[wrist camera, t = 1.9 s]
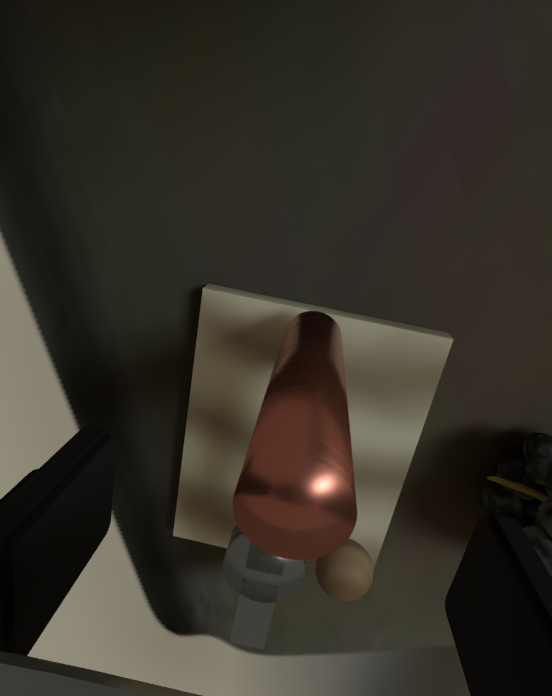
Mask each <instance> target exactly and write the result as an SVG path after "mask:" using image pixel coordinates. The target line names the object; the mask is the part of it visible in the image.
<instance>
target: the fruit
mask: <svg viewBox="0 0 552 696" xmlns="http://www.w3.org/2000/svg"><path fill="white" fill-rule="evenodd" d="M523 454H524V456H525V458H526V462H525V463H524V462H523V461H521V460H518V459H507V460H505V461H503V462H502V463H500V464H499V465H498V469H497V473H496V476H497V477H496V476H488V477H487V479H489V480H491V481H494V482H497V483H499V484H501V485H502V486H501V485H488V486H487V487H485V488H484V489H483V490H482V492H481V495H480V504H481V507H482V509H484V510H485V511H486V512H487V513H488V514H489V513H493V514H498V515H503V516H507V517H512V518H515V519H516V520H517V521H518V522H519V524H520V525H521V527H522V529H523V530H524V532H525V534H526V535H527V537H528V539H529V540H530V542H531V544H532V545H533V547H534V549H535V550H536V552H537V554H538V555H539V557H540V558H541V560H542V562H543V563H544V565H545V567H546V568H547V570H548V572H549V573H550V575H551V577H552V437H551V436H549V435H548V434H544V433H533V434H531V435H530V436H528V437H527V438H525V439H524V443H523Z"/></svg>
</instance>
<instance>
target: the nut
mask: <svg viewBox="0 0 552 696" xmlns="http://www.w3.org/2000/svg"><path fill="white" fill-rule="evenodd" d="M316 575H317V579H318V582H319V584H320V586H321V587H322V589H323V590H324V591H325V592H326V593H327V594H328V595H329V596H330V597H332V598H334V599H336V600H339V601H343V602H350V601H354V600H357V599H359V598H360V597H362V596H363V595H364V594H365V593H366V592H367V591H368V589H369V587H370V585H371V583H372V579H373V565H372V561H371V558H370V556H369V554H368V553H367V551H366V550H365V549H364V547H363V546H362V545H360V544H359V543H358V542H356V541H354V540H352V539H348V540H347V541H346V542H345V543H344V544H343V545H342V546H341V547H339V548H338V549H337V550H335V551H333V552H331V553H330V554H328V555H325V556H322V557H319V558H317V560H316Z"/></svg>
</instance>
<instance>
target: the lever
mask: <svg viewBox="0 0 552 696" xmlns="http://www.w3.org/2000/svg"><path fill="white" fill-rule="evenodd" d="M233 513H234V518H235V520H236V523H237V524H236V525H235V526H234V528H233V530H232V533H231V537H230V540H229V544H228V547H227V551H226V554H225V558H224V561H223V572H224V576H225V578H226V580H227V582H228V583H229V585H230V586H231V587H232V588H233V589H234V590H235V591H236V592H237V593H239V594H240V595H239V600H238V605H237V610H236V615H235V620H234V624H233V629H232V634H231V639H230V642H233V643H237V644H241V645H245V646H249V647H254V648H258V649H262V650H264V647H265V643H266V638H267V634H268V630H269V626H270V622H271V618H272V614H273V610H274V606H275V603H276V602H281V601H284V600H287V599H289V598H291V597H293V596H294V595H295V594H296V593H298V591H299V590H300V589H301V587H302V586H303V583H304V579H305V566H306V560H308V559H315V558H319V557H322V556H325V555H328V554H330V553H331V552H333V551H335V550H337V549H338V548H339V547H341V546H342V545H343V544H344V543H345V542H346V541H347V540H348V538H349V537H350V536H351V534H352V532H353V530H354V528H355V525H356V521H357V503H356V492H355V480H354V469H353V458H352V446H351V435H350V424H349V413H348V401H347V390H346V379H345V367H344V356H343V345H342V334H341V330H340V328H339V326H338V324H337V323H336V321H335V320H334V319H333V318H332V317H330V316H329V315H327V314H325V313H323V312H319V311H306V312H303V313H300V314H298V315H296V316H295V317H294V318H293V319H292V320H291V321H290V322H289V323H288V325H287V327H286V329H285V332H284V335H283V339H282V342H281V345H280V348H279V351H278V355H277V358H276V361H275V364H274V367H273V371H272V374H271V377H270V380H269V383H268V387H267V390H266V393H265V396H264V399H263V403H262V406H261V409H260V412H259V415H258V419H257V422H256V425H255V428H254V431H253V435H252V438H251V441H250V444H249V447H248V451H247V454H246V457H245V460H244V463H243V467H242V470H241V473H240V476H239V479H238V483H237V486H236V489H235V492H234V496H233Z"/></svg>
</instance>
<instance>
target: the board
mask: <svg viewBox="0 0 552 696" xmlns="http://www.w3.org/2000/svg"><path fill="white" fill-rule="evenodd" d="M306 311H319V312H323V313H325V314H327V315H329V316H330V317H332V318H333V319H334V320H335V321H336V323H337V324H338V326H339V328H340V330H341V334H342V345H343V356H344V367H345V379H346V390H347V401H348V413H349V424H350V435H351V446H352V458H353V469H354V480H355V492H356V503H357V521H356V525H355V528H354V530H353V532H352V534H351V536H350V537H349V538H348V539H352V540H354V541H356V542H358V543H359V544H360V545H362V546H363V547H364V549H365V550H366V551H367V553H368V554H369V556H370V558H371V561H372V565H373V570H374V567H375V564H376V561H377V558H378V556H379V553H380V550H381V547H382V544H383V541H384V538H385V535H386V532H387V530H388V527H389V524H390V521H391V518H392V515H393V512H394V509H395V507H396V504H397V501H398V498H399V495H400V492H401V489H402V486H403V483H404V481H405V478H406V475H407V472H408V469H409V466H410V463H411V460H412V457H413V455H414V452H415V449H416V446H417V443H418V440H419V437H420V434H421V432H422V429H423V426H424V423H425V420H426V417H427V414H428V411H429V408H430V406H431V403H432V400H433V397H434V394H435V391H436V388H437V385H438V383H439V380H440V377H441V374H442V371H443V368H444V365H445V362H446V359H447V357H448V354H449V351H450V348H451V345H452V342H453V338H452V337H451V336H450V335H449V333H447V332H442V331H437V330H432V329H428V328H423V327H418V326H413V325H408V324H403V323H398V322H393V321H388V320H384V319H379V318H374V317H369V316H364V315H359V314H354V313H349V312H344V311H340V310H335V309H330V308H325V307H320V306H315V305H310V304H305V303H300V302H295V301H291V300H286V299H281V298H276V297H271V296H266V295H261V294H256V293H251V292H247V291H242V290H237V289H232V288H227V287H222V286H217V285H212V284H207V285H206V286H205V287H204V288H203V291H202V299H201V307H200V316H199V324H198V332H197V341H196V349H195V357H194V365H193V374H192V382H191V390H190V398H189V407H188V415H187V423H186V432H185V440H184V448H183V456H182V465H181V473H180V481H179V489H178V498H177V506H176V514H175V523H174V531H173V536H176V537H181V538H185V539H189V540H194V541H198V542H202V543H206V544H211V545H215V546H219V547H224V548H227V547H228V544H229V540H230V537H231V533H232V530H233V528H234V526H235V525H236V524H237V523H236V520H235V518H234V513H233V496H234V492H235V489H236V486H237V483H238V479H239V476H240V473H241V470H242V467H243V463H244V460H245V457H246V454H247V451H248V447H249V444H250V441H251V438H252V435H253V431H254V428H255V425H256V422H257V419H258V415H259V412H260V409H261V406H262V403H263V399H264V396H265V393H266V390H267V387H268V383H269V380H270V377H271V374H272V371H273V367H274V364H275V361H276V358H277V355H278V351H279V348H280V345H281V342H282V339H283V335H284V332H285V329H286V327H287V325H288V323H289V322H290V321H291V320H292V319H293V318H294V317H295V316H296V315H298V314H300V313H303V312H306ZM316 560H317V558H315V559H308V560H306V567H310V568H314V569H316Z"/></svg>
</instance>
